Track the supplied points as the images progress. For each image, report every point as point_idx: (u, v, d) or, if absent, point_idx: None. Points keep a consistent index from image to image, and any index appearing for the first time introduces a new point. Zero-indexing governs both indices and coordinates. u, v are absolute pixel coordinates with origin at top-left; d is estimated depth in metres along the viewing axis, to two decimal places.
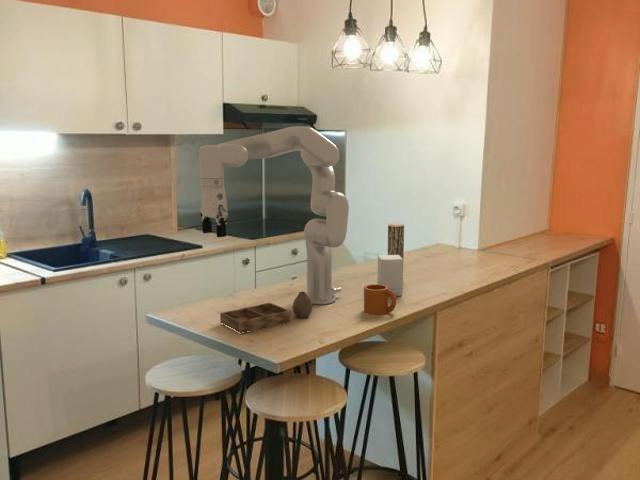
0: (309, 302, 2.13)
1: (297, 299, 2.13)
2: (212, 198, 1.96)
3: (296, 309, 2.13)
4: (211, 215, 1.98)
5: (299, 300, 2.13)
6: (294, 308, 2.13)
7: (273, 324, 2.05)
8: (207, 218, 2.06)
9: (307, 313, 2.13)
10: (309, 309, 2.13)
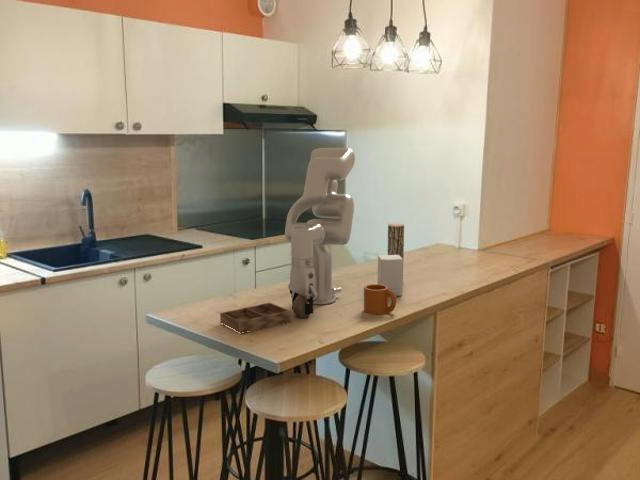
0: None
1: (297, 299, 2.13)
2: (304, 277, 2.09)
3: (296, 309, 2.13)
4: (301, 292, 2.11)
5: (299, 300, 2.13)
6: (294, 308, 2.13)
7: (273, 324, 2.05)
8: (296, 295, 2.18)
9: None
10: None
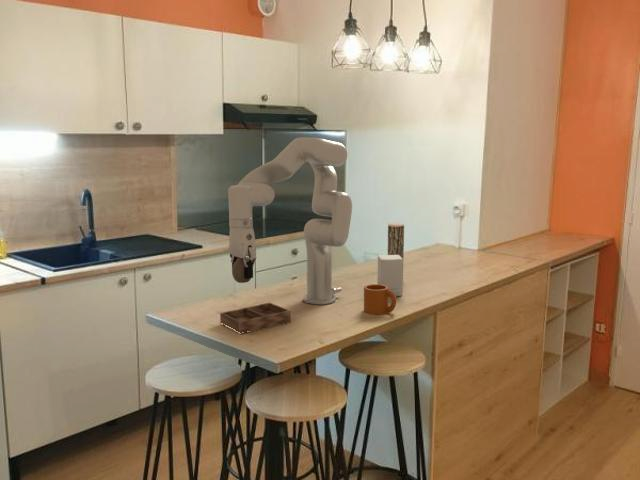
0: None
1: (235, 263, 2.00)
2: (242, 238, 1.96)
3: (235, 273, 2.00)
4: (240, 255, 1.98)
5: (238, 263, 2.00)
6: (233, 272, 2.01)
7: (273, 324, 2.05)
8: None
9: None
10: None
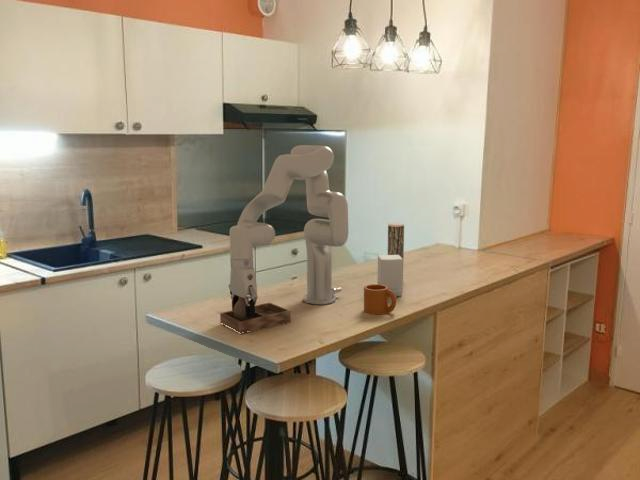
0: None
1: (237, 304, 2.03)
2: (243, 279, 1.98)
3: (236, 314, 2.02)
4: (241, 294, 2.01)
5: (239, 304, 2.02)
6: (234, 313, 2.03)
7: (273, 324, 2.05)
8: (236, 296, 2.08)
9: (248, 318, 2.03)
10: None
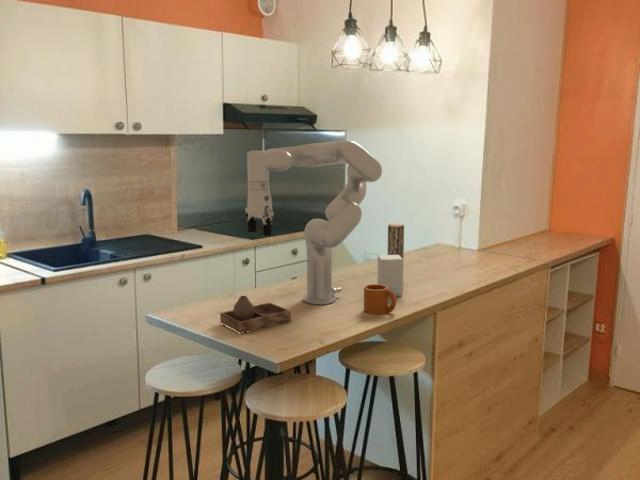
0: (250, 307, 2.03)
1: (237, 304, 2.03)
2: (259, 199, 2.12)
3: (236, 314, 2.02)
4: (257, 215, 2.14)
5: (239, 304, 2.02)
6: (234, 313, 2.03)
7: (273, 324, 2.05)
8: (252, 218, 2.22)
9: (248, 318, 2.03)
10: (250, 314, 2.03)
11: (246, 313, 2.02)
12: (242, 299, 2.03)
